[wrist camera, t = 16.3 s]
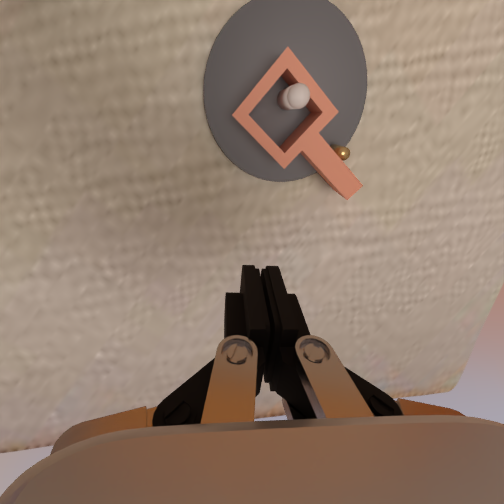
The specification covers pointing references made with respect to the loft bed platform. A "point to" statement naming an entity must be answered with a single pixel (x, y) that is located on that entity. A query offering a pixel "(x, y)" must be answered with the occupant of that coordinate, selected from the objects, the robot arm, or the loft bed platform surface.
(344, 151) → the dowel pin
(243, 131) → the post base
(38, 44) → the loft bed platform surface
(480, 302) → the loft bed platform surface
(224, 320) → the robot arm
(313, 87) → the orange square loop
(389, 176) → the loft bed platform surface
